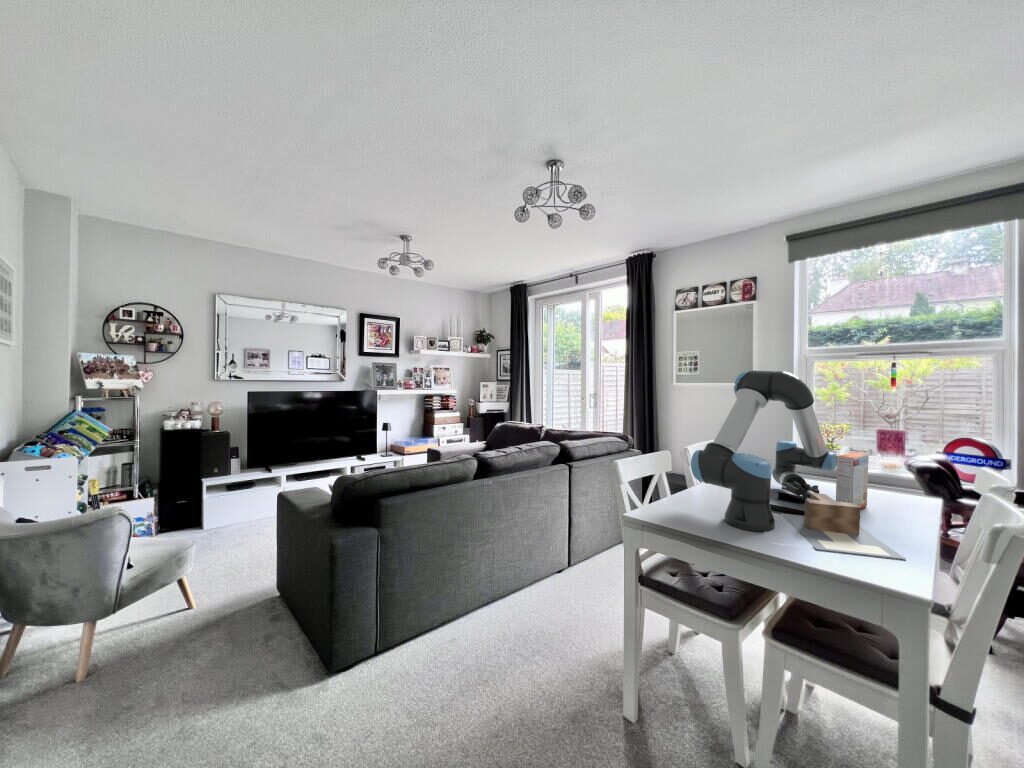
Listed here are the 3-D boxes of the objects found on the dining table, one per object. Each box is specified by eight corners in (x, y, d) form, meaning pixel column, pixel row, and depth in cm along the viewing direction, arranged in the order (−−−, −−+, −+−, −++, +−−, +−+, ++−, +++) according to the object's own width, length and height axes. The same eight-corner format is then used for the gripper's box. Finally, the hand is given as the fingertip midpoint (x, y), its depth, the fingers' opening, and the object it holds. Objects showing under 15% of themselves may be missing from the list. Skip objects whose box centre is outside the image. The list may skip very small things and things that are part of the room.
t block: (809, 529, 141) (810, 503, 141) (794, 516, 154) (795, 491, 154) (859, 534, 138) (860, 507, 137) (839, 520, 151) (840, 495, 150)
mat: (816, 550, 126) (816, 548, 126) (780, 514, 157) (780, 513, 157) (906, 560, 120) (906, 559, 120) (850, 521, 151) (850, 520, 151)
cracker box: (849, 502, 172) (851, 451, 172) (867, 507, 167) (870, 454, 166) (833, 508, 165) (836, 454, 164) (852, 513, 160) (855, 457, 159)
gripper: (810, 492, 176) (836, 511, 154) (774, 489, 180) (795, 507, 157) (811, 474, 176) (837, 490, 153) (775, 472, 180) (796, 487, 157)
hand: (816, 499), depth 155 cm, fingers closed
